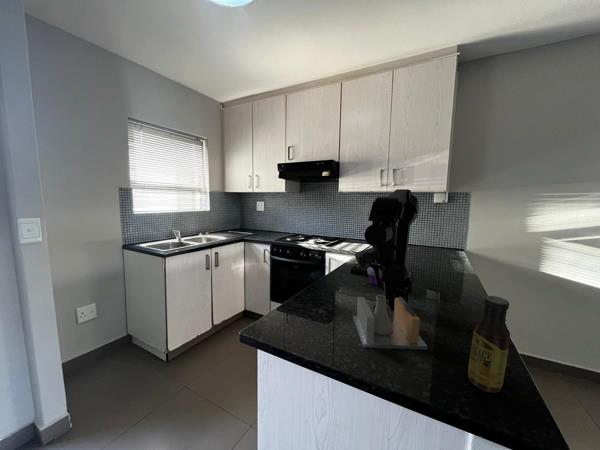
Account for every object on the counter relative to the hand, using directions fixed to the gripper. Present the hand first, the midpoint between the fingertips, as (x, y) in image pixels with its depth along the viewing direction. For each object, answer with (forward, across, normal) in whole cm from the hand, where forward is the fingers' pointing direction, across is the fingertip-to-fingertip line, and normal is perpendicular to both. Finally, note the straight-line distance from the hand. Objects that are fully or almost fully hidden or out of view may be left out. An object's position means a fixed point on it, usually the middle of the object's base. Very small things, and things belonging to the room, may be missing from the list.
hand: (382, 292), depth 74 cm
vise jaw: (+11, 0, +7) cm, 13 cm away
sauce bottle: (+13, +20, +17) cm, 29 cm away
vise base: (+12, 0, +2) cm, 13 cm away
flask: (+12, 0, 0) cm, 12 cm away
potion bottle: (+12, -41, +9) cm, 44 cm away
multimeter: (+13, -56, +11) cm, 59 cm away
